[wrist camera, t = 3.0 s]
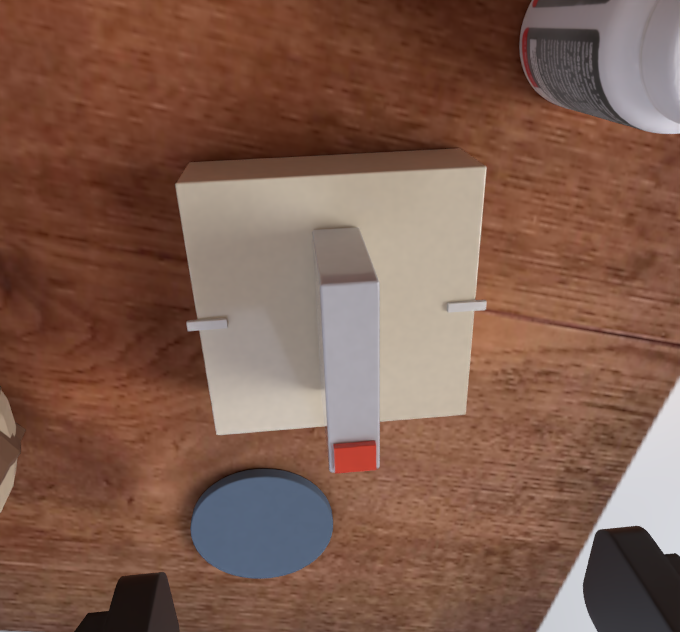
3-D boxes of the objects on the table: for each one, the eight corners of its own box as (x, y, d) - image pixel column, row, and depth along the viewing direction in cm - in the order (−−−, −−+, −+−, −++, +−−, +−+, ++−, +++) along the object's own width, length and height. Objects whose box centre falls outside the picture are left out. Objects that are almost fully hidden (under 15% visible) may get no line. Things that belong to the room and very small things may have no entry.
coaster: (329, 462, 28) (330, 470, 27) (334, 562, 31) (335, 571, 30) (181, 475, 27) (179, 484, 27) (202, 575, 30) (201, 585, 30)
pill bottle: (617, 118, 21) (796, 170, 14) (498, 92, 20) (620, 134, 13) (673, -28, 19) (920, -59, 12) (544, -63, 18) (721, -119, 11)
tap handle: (311, 229, 19) (320, 288, 15) (359, 226, 19) (381, 284, 15) (320, 391, 22) (330, 479, 18) (362, 388, 22) (381, 474, 18)
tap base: (471, 147, 21) (499, 166, 19) (454, 373, 26) (475, 416, 23) (177, 162, 21) (161, 185, 18) (215, 392, 25) (206, 439, 22)
